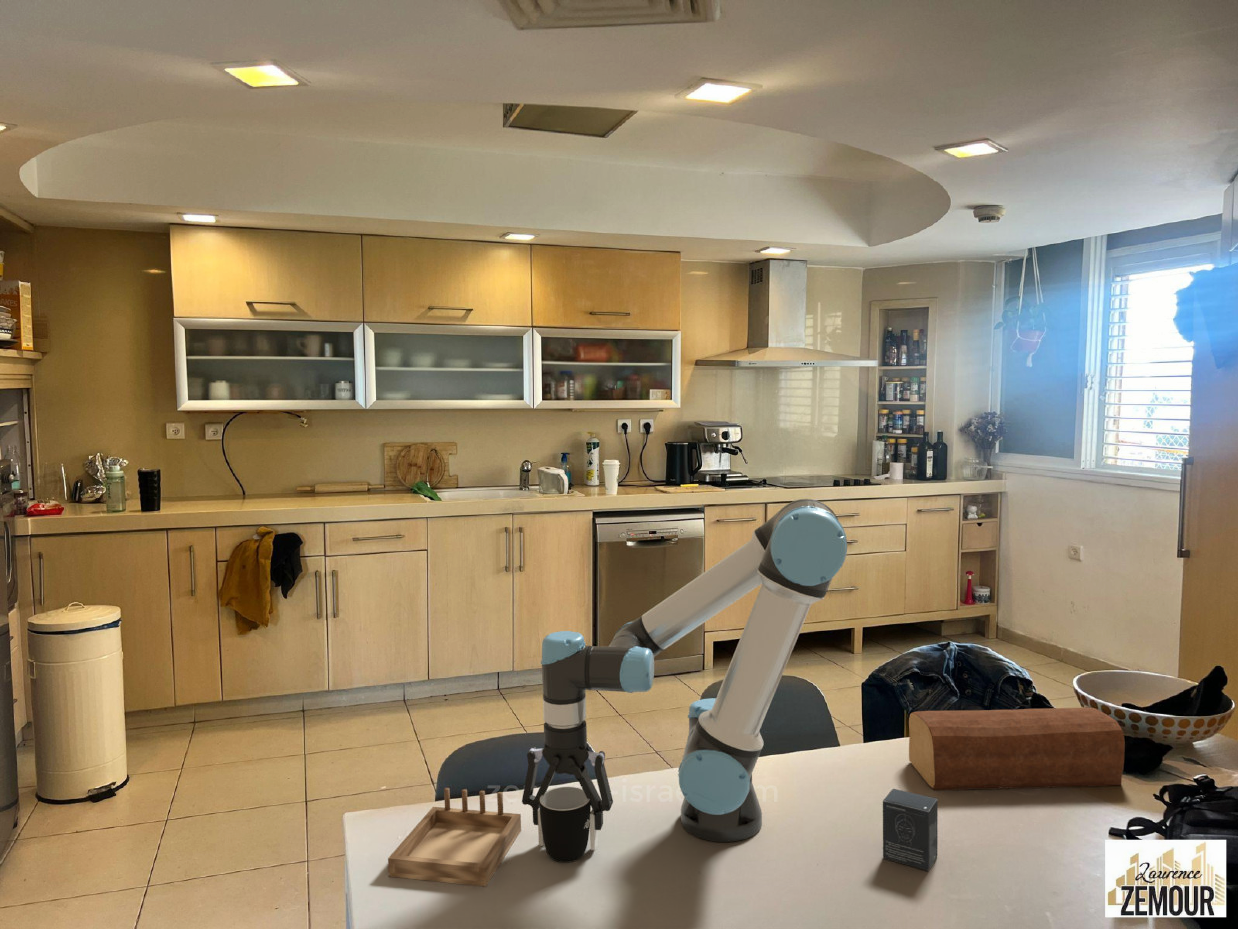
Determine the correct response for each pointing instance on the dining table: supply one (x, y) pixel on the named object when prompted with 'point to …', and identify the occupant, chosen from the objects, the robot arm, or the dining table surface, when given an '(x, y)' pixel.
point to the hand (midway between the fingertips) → (568, 843)
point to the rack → (456, 844)
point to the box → (910, 829)
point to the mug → (565, 822)
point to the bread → (1016, 748)
